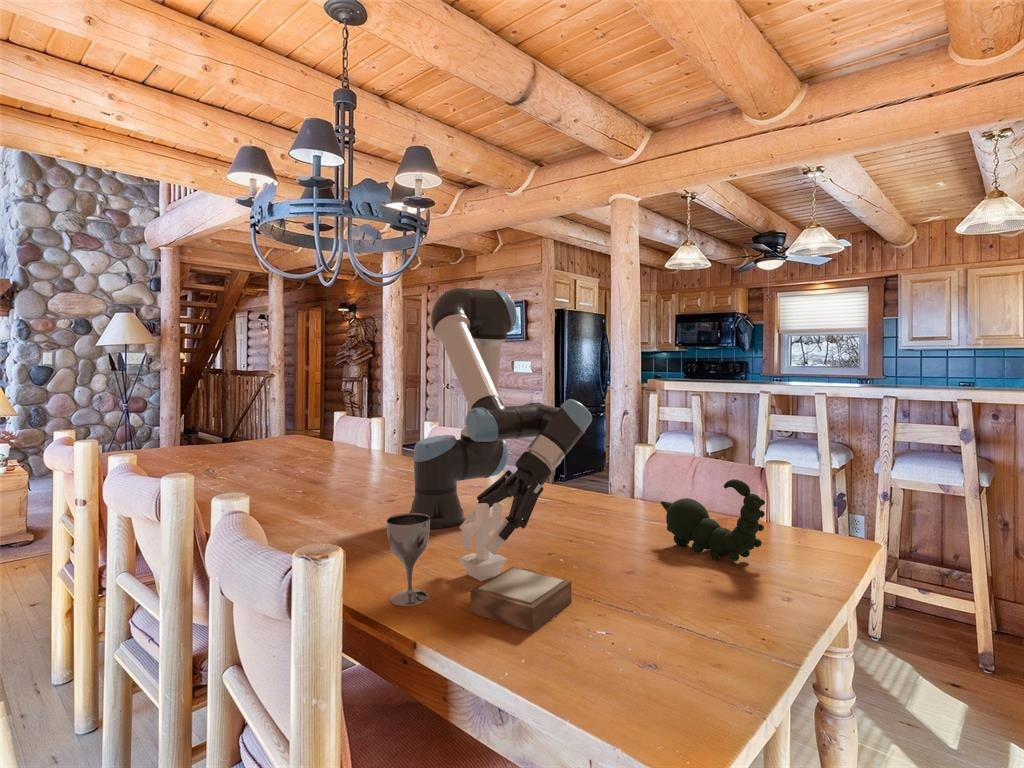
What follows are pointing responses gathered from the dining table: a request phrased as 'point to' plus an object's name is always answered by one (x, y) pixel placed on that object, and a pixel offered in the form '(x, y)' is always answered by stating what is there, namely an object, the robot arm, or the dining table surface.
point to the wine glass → (408, 550)
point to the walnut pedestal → (521, 598)
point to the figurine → (482, 543)
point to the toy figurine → (716, 525)
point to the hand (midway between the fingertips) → (475, 540)
